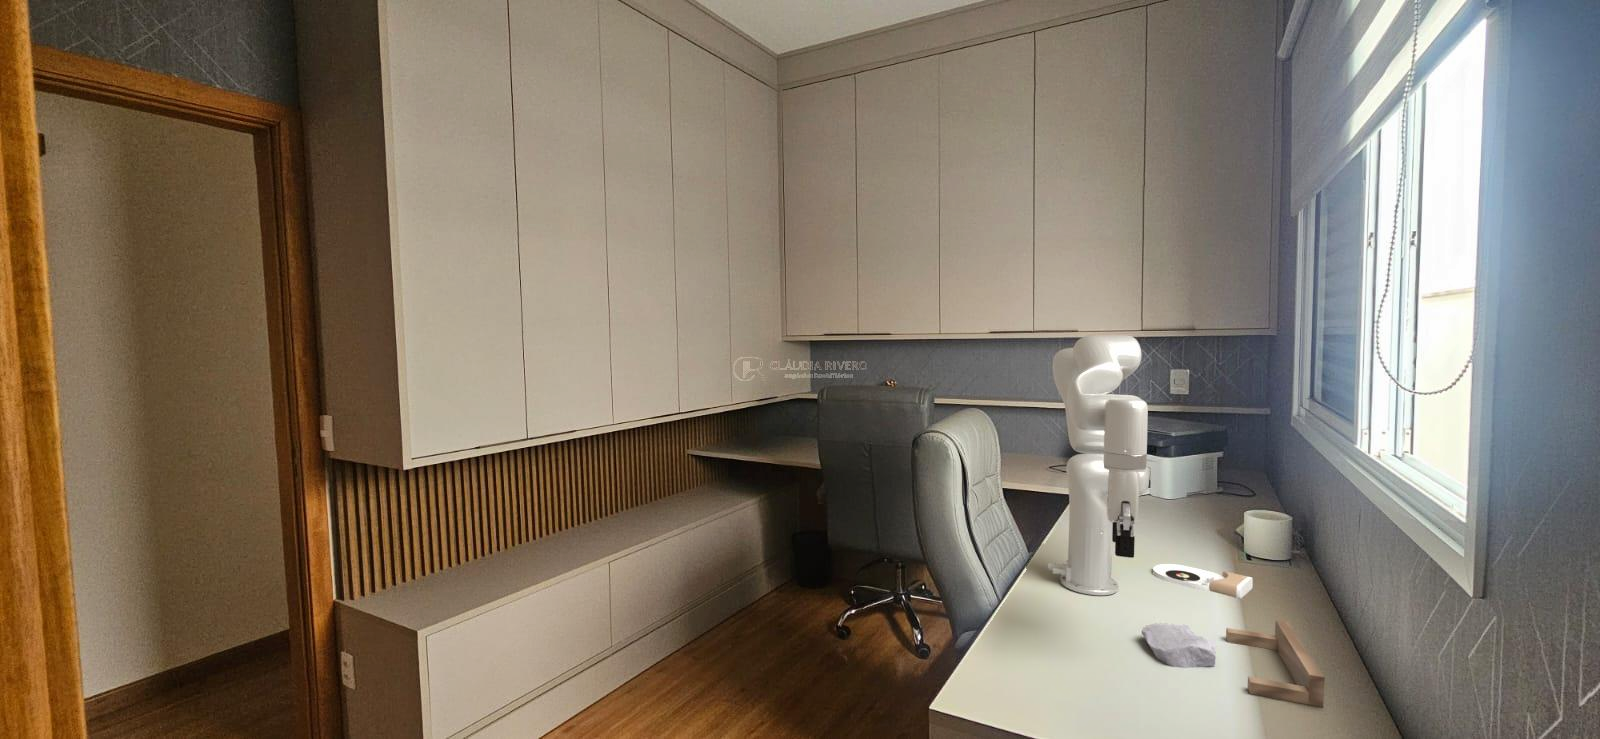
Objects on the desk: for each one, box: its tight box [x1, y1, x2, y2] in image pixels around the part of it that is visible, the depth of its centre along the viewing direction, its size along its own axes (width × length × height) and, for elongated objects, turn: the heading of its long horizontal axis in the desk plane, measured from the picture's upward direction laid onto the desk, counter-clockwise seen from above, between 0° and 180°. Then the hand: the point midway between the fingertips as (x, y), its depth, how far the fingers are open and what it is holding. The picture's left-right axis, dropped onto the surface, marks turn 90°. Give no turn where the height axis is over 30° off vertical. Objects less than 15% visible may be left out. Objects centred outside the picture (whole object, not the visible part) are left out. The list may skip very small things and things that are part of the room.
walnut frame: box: [1225, 620, 1326, 708], centre depth 120 cm, size 10×22×5 cm, turn 156°
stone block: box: [1141, 622, 1217, 669], centre depth 126 cm, size 12×5×10 cm
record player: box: [1152, 563, 1254, 599], centre depth 162 cm, size 12×3×20 cm
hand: (1122, 549), depth 130 cm, fingers open, 9 cm apart
